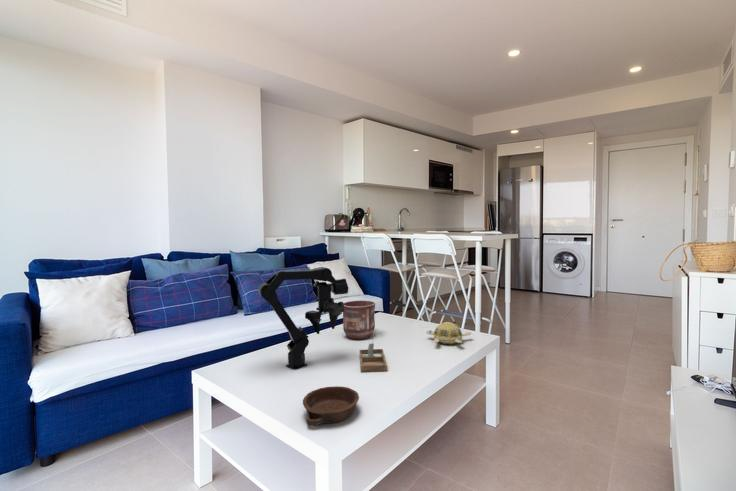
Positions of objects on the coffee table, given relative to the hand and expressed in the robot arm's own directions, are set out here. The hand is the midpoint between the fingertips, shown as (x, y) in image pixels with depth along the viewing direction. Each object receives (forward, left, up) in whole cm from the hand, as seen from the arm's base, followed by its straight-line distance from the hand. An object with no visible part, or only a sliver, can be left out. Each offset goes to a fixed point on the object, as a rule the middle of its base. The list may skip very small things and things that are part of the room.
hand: (325, 331), depth 162 cm
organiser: (+9, -18, -13) cm, 24 cm away
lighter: (+12, -15, -12) cm, 23 cm away
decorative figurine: (+53, -31, -13) cm, 63 cm away
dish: (-32, -34, -14) cm, 49 cm away
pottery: (+36, +11, -13) cm, 40 cm away
